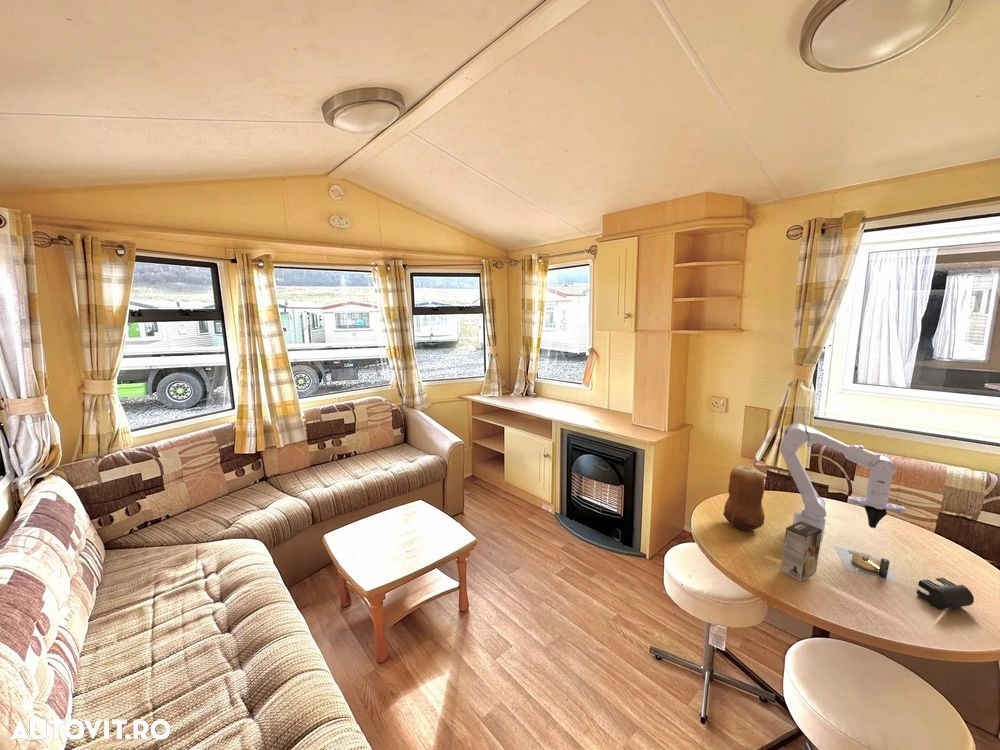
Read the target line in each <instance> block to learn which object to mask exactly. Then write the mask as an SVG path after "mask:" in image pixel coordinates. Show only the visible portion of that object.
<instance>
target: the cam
mask: <svg viewBox="0 0 1000 750" xmlns="http://www.w3.org/2000/svg"><path fill="white" fill-rule="evenodd" d="M883 558H884V557H883ZM883 558H882V559H881V562H880V561H879V560H877V559H875V558H873V557H871V556H868V555H864V554H854V555H852V562H853V563H854V564H855V565H856V566H858V567H860V568H862V569H864V570H867V571H870V572H876V573H878V575H879V576H881V577H883V578H887V573H888V568H890V560H888V559H887V558H884V559H883Z"/></svg>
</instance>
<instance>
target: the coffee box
mask: <svg viewBox="0 0 1000 750" xmlns="http://www.w3.org/2000/svg"><path fill="white" fill-rule="evenodd" d="M821 533H822V529H819V528H817V527H814V526H812V525H810V524H807V523H804V522H802V521H800V522H798V523H795V524H793V523H792V524H790V525H789V526H787V527H786V529H785V537H784V544H783V552H782V558H781V559H782V560H781V568H780V571H781V572H782V573H784V574H785V575H787V576H789V577H792V578H793V579H795V580H797V581H799V582H803V581H805V580H807V579H808V578H810V577H811V576H812V574H814V573H816V572H817V569H818V560H819V554H820V547H821V546H820V545H821V541H822V540H821Z"/></svg>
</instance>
